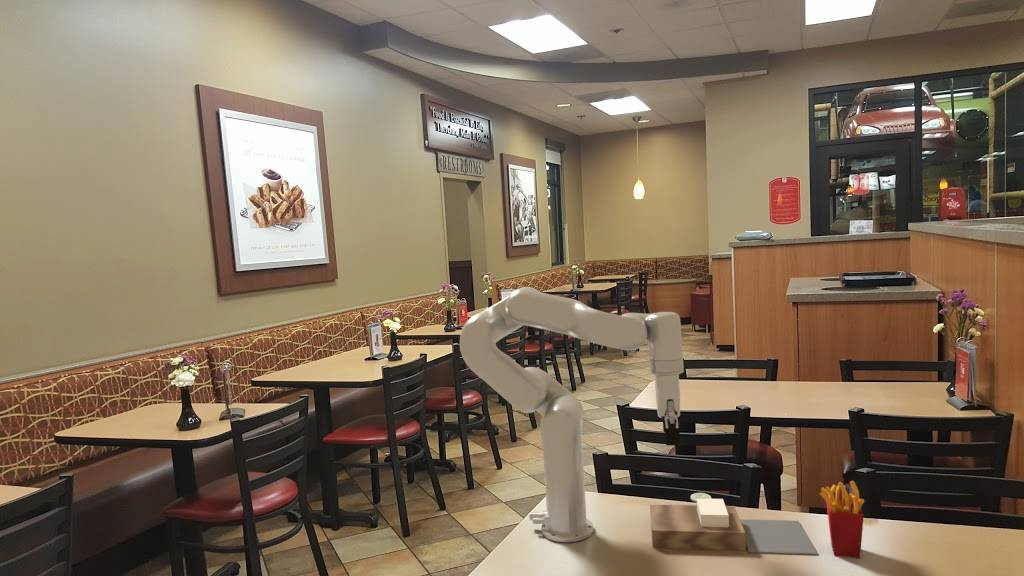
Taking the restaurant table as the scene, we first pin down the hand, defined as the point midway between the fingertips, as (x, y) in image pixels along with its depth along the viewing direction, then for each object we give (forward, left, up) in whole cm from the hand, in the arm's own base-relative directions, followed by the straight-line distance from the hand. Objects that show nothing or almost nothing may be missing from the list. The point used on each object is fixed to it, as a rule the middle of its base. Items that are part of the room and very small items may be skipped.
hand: (671, 438), depth 146 cm
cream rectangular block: (+8, 0, -19) cm, 21 cm away
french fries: (+34, -5, -23) cm, 42 cm away
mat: (+22, 0, -23) cm, 32 cm away
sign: (+7, +16, -24) cm, 29 cm away
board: (+4, 0, -23) cm, 23 cm away
